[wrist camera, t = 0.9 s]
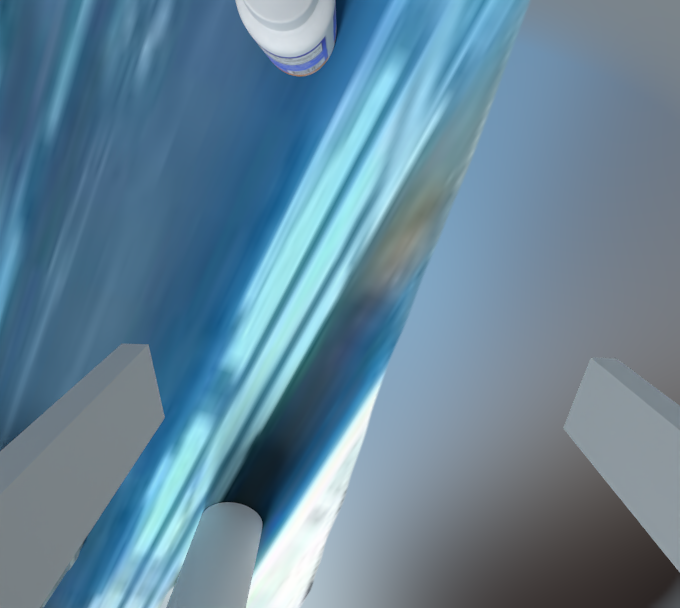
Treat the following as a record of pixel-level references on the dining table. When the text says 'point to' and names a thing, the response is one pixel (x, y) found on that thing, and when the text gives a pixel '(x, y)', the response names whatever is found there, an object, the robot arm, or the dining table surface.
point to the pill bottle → (292, 31)
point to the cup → (219, 559)
